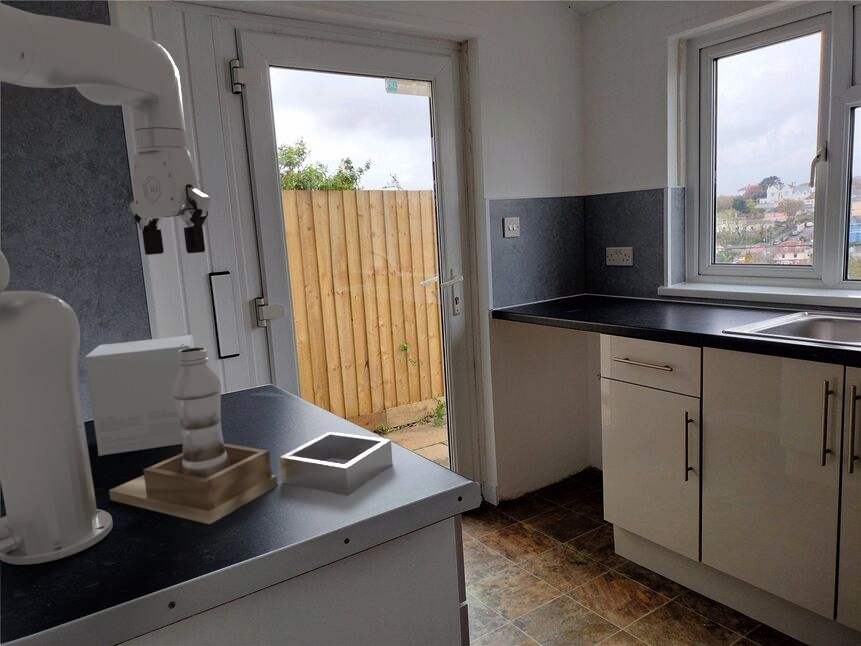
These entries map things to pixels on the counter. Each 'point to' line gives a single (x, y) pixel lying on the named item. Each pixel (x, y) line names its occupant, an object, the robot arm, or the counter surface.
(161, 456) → the counter surface
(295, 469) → the holder
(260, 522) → the counter surface
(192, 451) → the plastic bottle
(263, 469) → the wooden tray
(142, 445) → the supplement box
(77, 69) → the robot arm
